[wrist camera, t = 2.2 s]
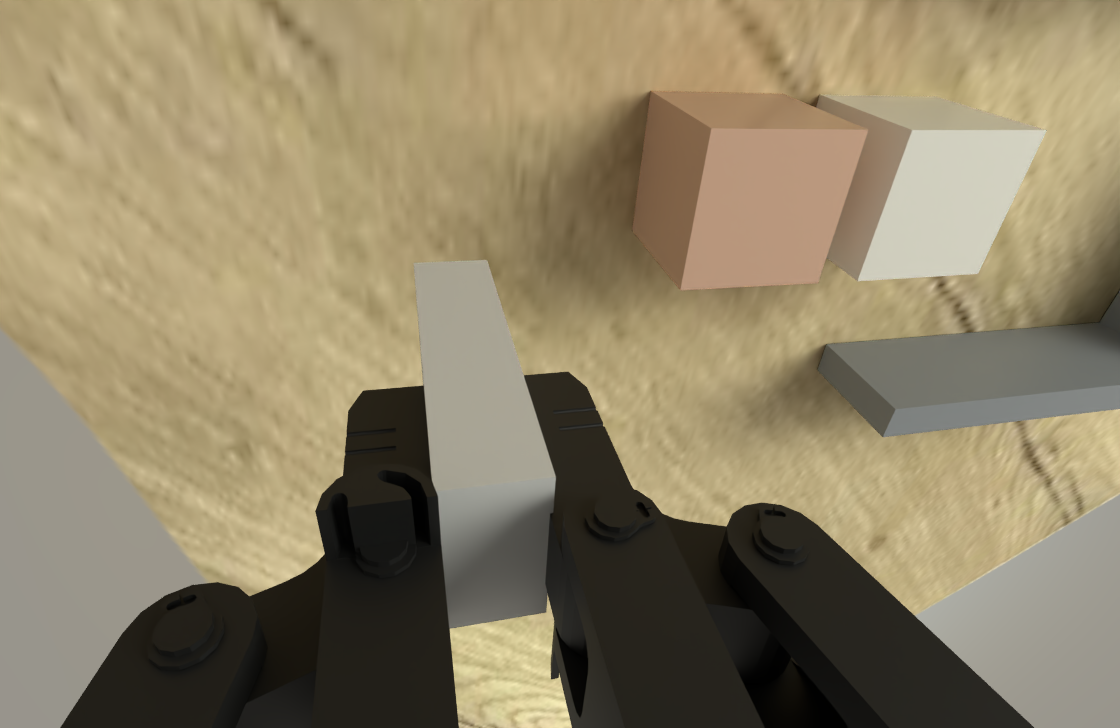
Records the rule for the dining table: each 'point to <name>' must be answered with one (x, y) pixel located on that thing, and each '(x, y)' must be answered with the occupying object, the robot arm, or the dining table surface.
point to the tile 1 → (742, 187)
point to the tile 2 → (926, 185)
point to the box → (979, 376)
